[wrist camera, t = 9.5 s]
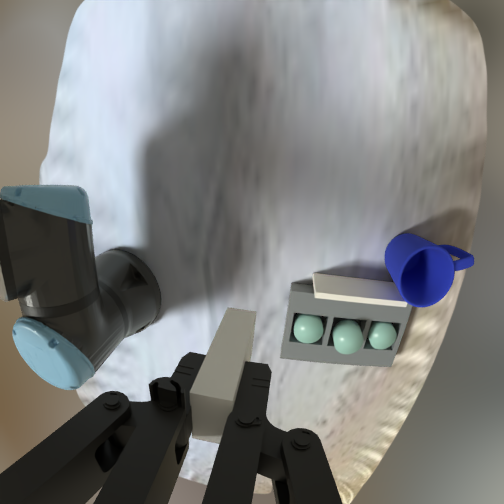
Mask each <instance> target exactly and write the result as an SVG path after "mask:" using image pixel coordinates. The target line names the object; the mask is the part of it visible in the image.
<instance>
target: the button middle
mask: <svg viewBox="0 0 504 504" xmlns="http://www.w3.org/2000/svg"><path fill="white" fill-rule="evenodd" d="M332 334H333V340H334V346H335V349H336V350H337V351H338V352H340V353H342V354H352V353H355V352H357V351H358V350H359V349H360V348H361V347H362V345H363V341H364V339H363V335H362V332H361V329H360V326H359V324H358V323H357V322H356V321H354V320H350V319H346V320H342V321H340V322H338V323H337V324H336V325H335V326H334V328H333V331H332Z"/></svg>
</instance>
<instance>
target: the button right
mask: <svg viewBox="0 0 504 504" xmlns="http://www.w3.org/2000/svg"><path fill="white" fill-rule="evenodd" d="M368 338H369V341H370V343H371V345H372V347H374V348H375V349H386V348H388V347H390V346H391V345H392V344H393V343H394V341H395V340H396V331H395V329H394V327H393V325H392V323H391V322H382V321H371V325H370V328H369V332H368Z"/></svg>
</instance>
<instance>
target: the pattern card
mask: <svg viewBox="0 0 504 504" xmlns="http://www.w3.org/2000/svg"><path fill="white" fill-rule="evenodd" d="M312 279H313V287H314V295H315V298H320V299H329V300H338V301H347V302H357V303H367V304H377V305H387V306H398V307H406V306H407V302H406V301H405V300H404V299H403V298H402V296H401V295H400V293H399V291H398V289H397V287H396V285H395V283H394V282H386V281H378V280H369V279H361V278H352V277H344V276H335V275H327V274H319V273H313V277H312Z"/></svg>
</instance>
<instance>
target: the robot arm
mask: <svg viewBox="0 0 504 504" xmlns="http://www.w3.org/2000/svg"><path fill="white" fill-rule="evenodd" d="M0 198H1V200H0V298H1V299H2V300H4V301H5V302H7V301H10V300H14V299H17V298H18V300H19V304H20V307H21V311H22V315H23V316H22V317H21V318H19V319H17V321H16V323H15V324H14V327H13V339H14V342H15V345H16V347H17V349H18V351H19V353H20V354H21V356H22V357H23V359H24V360H25V361H26V363H27V364H28V365H29V366H30V367H31V369H32V370H33V371H35V372H36V373H37V374H38V375H39V376H40V377H41V378H43V379H44V380H45V381H47V382H48V383H50V384H52V385H54V386H56V387H58V388H61V389H65V390H74V389H77V388H79V387H81V386H82V385H83V384H84V383H85V382H86V381H87V380H88V379H89V378H91V377H93V376H94V374H95V372H96V371H97V370H98V369H99V367H100V366H101V365H102V364H103V363H104V361H105V360H106V359H107V358H108V357H109V355H110V354H111V353H112V352H113V351H114V349H115V348H116V347H117V346H118V345H119V344H120V342H121V341H122V340H123V339H124V338H126V337H129V336H131V335H133V334H135V333H138V332H141V331H143V330H144V329H146V328H147V327H148V326H149V325H150V324H151V323H152V322H153V320H154V319H155V318H156V316H157V315H158V312H159V309H160V304H161V295H160V290H159V286H158V283H157V281H156V279H155V277H154V275H153V273H152V272H151V270H150V269H149V268H148V267H147V265H146V264H145V263H144V262H142V261H141V260H140V259H139V258H137V257H136V256H134V255H133V254H131V253H128V252H126V251H122V250H109V251H106V252H104V253H102V254H100V255H98V256H97V257H95V254H94V245H93V234H92V224H93V221H92V220H91V216H90V209H89V199H88V195H87V193H86V191H85V190H84V189H83V188H81V187H79V186H74V185H22V186H4V187H3V188H2V189H1V192H0ZM255 320H256V312H255V311H248V310H241V309H234V308H227V310H226V312H225V315H224V317H223V319H222V321H221V323H220V326H219V328H218V330H217V332H216V335H215V337H214V339H213V341H212V343H211V346H210V348H209V350H208V352H207V355H203V354H198V353H193V352H189V353H188V354H186V355H185V356H183V357H182V358H181V360H180V362H179V364H178V366H177V367H176V369H175V372H174V373H173V375H172V376H171V377H162V378H157V379H155V380H153V381H152V382H151V383H150V384H149V389H150V396H151V401H148V402H132V401H129V399H128V397H127V396H126V395H125V394H123V393H121V392H118V391H109V392H105V393H103V394H101V395H100V396H98V397H97V398H96V399H95V400H93V401H92V402H91V403H90V404H88V405H87V406H86V407H85V408H84V409H82V410H81V411H80V412H78V413H77V414H76V415H75V416H74V417H72V418H71V419H70V420H68V421H67V422H66V423H65V424H63V425H62V426H61V427H60V428H58V429H57V430H56V431H55V432H53V433H52V434H51V435H50V436H48V437H47V438H46V439H45V440H43V441H42V442H41V443H40V444H38V445H37V446H36V447H34V448H33V449H32V450H31V451H29V452H28V453H27V454H25V455H24V456H23V457H22V458H20V459H19V460H18V461H16V462H15V463H14V464H13V465H11V466H10V467H9V468H7V469H6V470H5V471H3V472H2V473H1V474H0V504H85V503H86V502H87V501H88V500H89V499H90V498H91V497H92V496H93V495H94V494H95V493H96V492H97V491H98V490H99V489H100V488H101V487H102V486H103V487H102V489H101V491H100V492H99V495H98V496H97V498H96V500H95V502H94V503H93V504H168V502H169V499H170V496H171V494H172V491H173V489H174V486H175V483H176V480H177V478H178V475H179V473H180V470H181V467H182V465H183V462H184V459H185V457H186V454H187V451H188V449H189V437H190V435H191V432H192V438H195V439H199V440H204V441H208V442H213V443H218V444H219V448H218V451H217V455H216V458H215V461H214V465H213V468H212V472H211V475H210V478H209V482H208V485H207V488H206V492H205V495H204V499H203V502H202V504H251V503H252V498H253V492H254V486H255V481H256V475H257V473H258V474H261V475H263V476H265V477H268V478H270V479H272V484H273V489H274V494H275V500H276V504H342V501H341V498H340V495H339V492H338V489H337V486H336V483H335V481H334V478H333V475H332V472H331V469H330V466H329V463H328V460H327V458H326V455H325V452H324V449H323V446H322V443H321V440H320V439H319V437H318V435H317V434H315V433H314V432H313V431H311V430H308V429H304V428H296V429H292V430H290V431H288V432H286V431H283V430H281V429H278V428H276V427H274V426H273V425H272V424H271V423H270V422H269V421H268V419H267V417H266V409H267V402H268V395H269V388H270V380H271V373H272V372H271V370H270V368H269V366H268V364H262V363H255V362H250V359H251V355H252V347H253V338H254V329H255Z"/></svg>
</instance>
